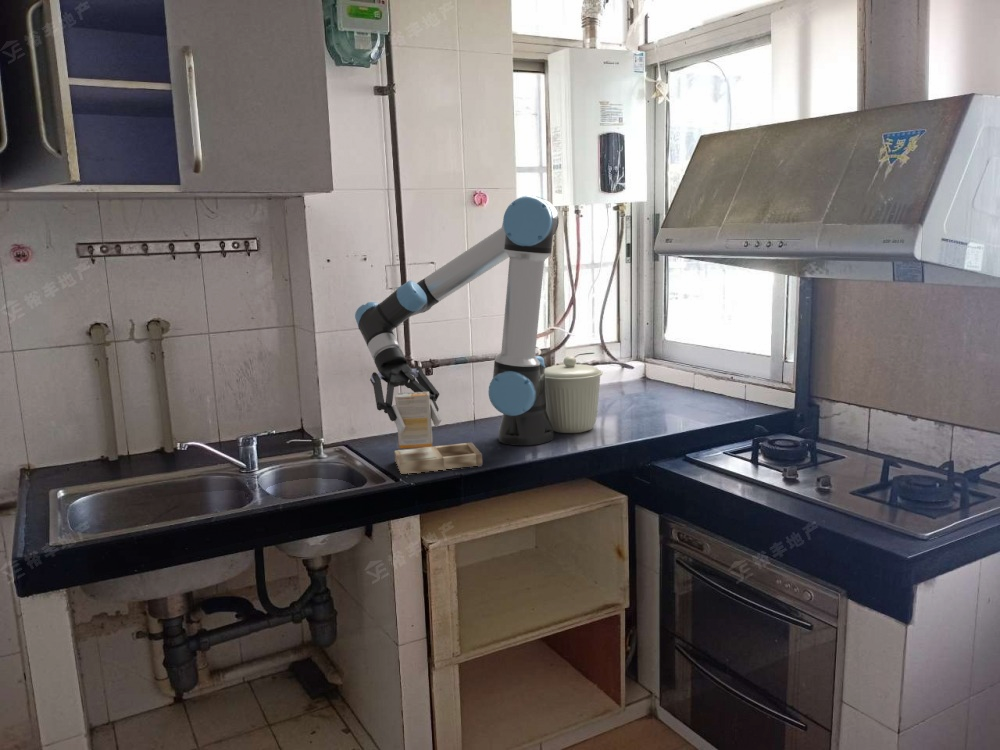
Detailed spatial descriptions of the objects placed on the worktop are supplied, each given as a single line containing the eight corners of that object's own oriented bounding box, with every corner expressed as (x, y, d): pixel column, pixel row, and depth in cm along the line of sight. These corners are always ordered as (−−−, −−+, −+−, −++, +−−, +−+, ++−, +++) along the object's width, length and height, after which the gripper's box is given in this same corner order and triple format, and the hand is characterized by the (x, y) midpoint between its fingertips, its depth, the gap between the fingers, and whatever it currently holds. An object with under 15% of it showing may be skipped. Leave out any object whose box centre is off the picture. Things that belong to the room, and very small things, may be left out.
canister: (528, 428, 231) (525, 356, 228) (581, 419, 239) (579, 349, 236) (561, 440, 215) (559, 363, 212) (616, 430, 224) (615, 356, 220)
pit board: (472, 453, 207) (471, 441, 206) (482, 466, 195) (481, 453, 195) (395, 462, 202) (394, 449, 202) (400, 475, 191) (400, 462, 190)
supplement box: (432, 442, 199) (430, 390, 197) (431, 447, 195) (429, 394, 192) (399, 443, 199) (396, 392, 197) (398, 448, 194) (394, 396, 192)
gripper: (420, 359, 212) (454, 428, 202) (344, 369, 200) (375, 443, 190) (429, 341, 207) (464, 411, 196) (351, 350, 195) (384, 425, 185)
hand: (420, 426), depth 193 cm, fingers closed on supplement box, 9 cm apart
